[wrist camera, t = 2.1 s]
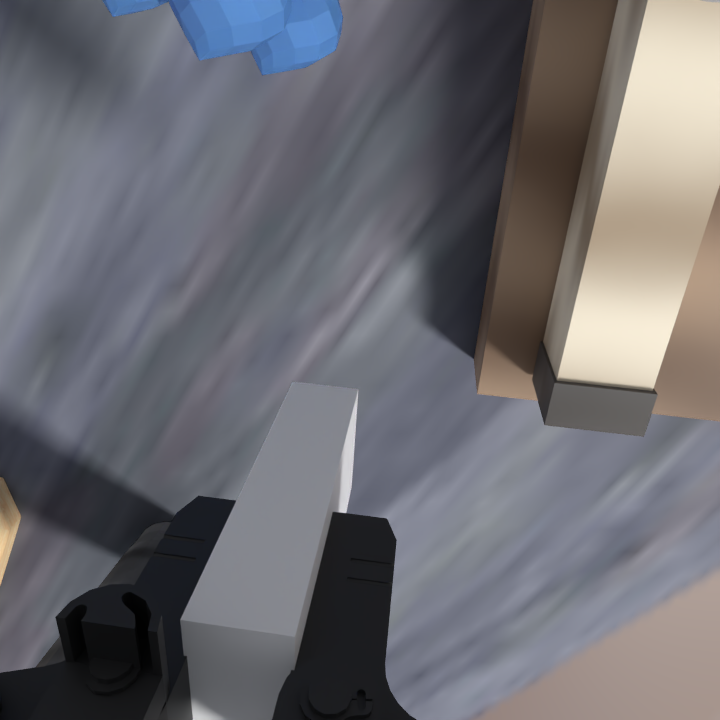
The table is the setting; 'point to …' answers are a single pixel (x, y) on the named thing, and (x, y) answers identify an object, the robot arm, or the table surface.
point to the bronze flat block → (552, 216)
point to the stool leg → (634, 217)
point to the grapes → (253, 28)
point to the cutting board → (7, 525)
